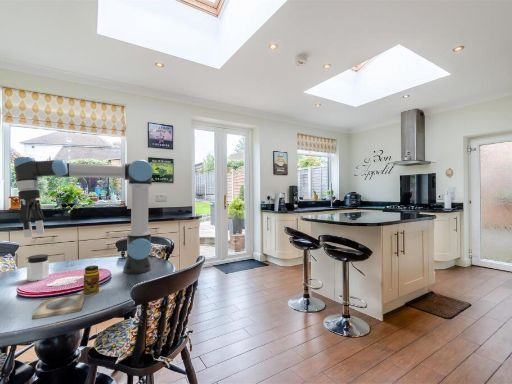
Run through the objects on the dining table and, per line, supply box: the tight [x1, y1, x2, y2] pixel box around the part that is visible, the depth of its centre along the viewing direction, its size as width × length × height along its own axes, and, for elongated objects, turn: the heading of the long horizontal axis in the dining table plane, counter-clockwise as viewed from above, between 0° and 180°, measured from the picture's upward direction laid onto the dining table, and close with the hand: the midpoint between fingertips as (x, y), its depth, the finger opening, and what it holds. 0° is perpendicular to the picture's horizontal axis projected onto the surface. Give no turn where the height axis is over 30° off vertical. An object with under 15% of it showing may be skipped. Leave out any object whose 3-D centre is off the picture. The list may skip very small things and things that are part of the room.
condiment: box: [75, 265, 104, 297], centre depth 121 cm, size 7×8×12 cm
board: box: [32, 294, 86, 320], centre depth 105 cm, size 15×15×1 cm
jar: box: [26, 254, 50, 282], centre depth 138 cm, size 9×8×12 cm
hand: (35, 235), depth 121 cm, fingers open, 13 cm apart
